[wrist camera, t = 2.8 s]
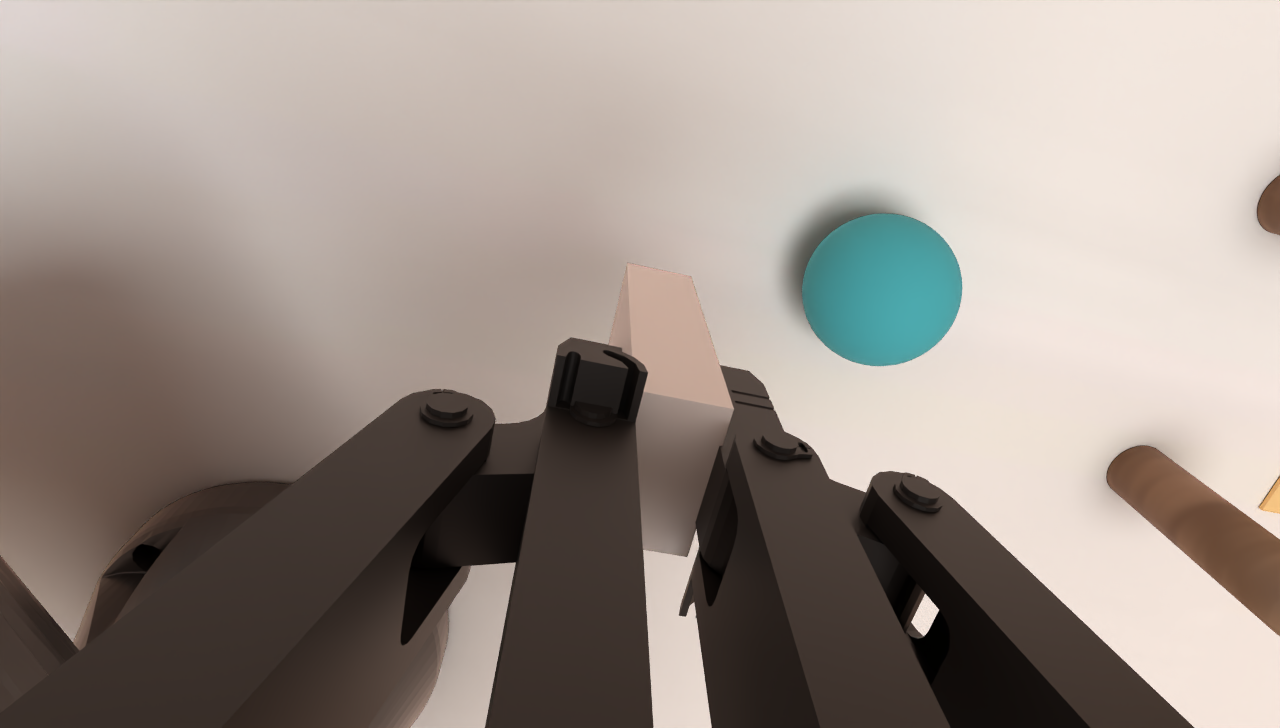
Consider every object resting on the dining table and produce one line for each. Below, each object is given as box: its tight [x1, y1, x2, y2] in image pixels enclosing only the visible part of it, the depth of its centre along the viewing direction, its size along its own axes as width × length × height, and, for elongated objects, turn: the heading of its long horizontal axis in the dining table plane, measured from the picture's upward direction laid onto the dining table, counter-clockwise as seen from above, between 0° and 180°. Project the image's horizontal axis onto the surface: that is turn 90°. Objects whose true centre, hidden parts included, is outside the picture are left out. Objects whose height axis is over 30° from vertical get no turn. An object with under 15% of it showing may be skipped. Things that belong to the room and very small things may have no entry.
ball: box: [802, 213, 962, 366], centre depth 26 cm, size 6×6×6 cm
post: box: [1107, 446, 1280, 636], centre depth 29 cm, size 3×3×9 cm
